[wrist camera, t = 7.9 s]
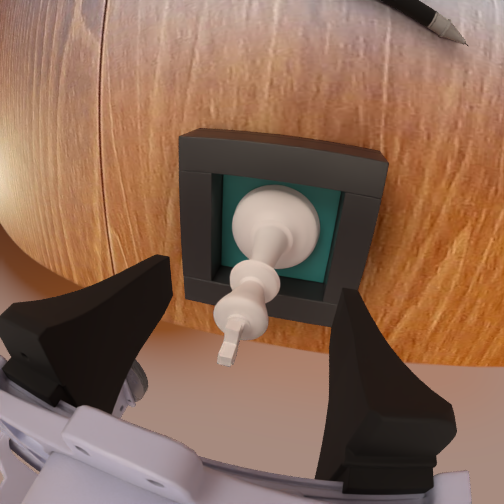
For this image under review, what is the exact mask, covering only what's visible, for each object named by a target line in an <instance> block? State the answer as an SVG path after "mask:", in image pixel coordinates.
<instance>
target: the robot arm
mask: <svg viewBox="0 0 504 504" xmlns="http://www.w3.org/2000/svg"><path fill="white" fill-rule="evenodd" d="M172 296H173V291H172V281H171V270H170V258H169V257H168V256H162V255H154V256H152V257H150V258H148V259H146V260H144V261H142V262H140V263H138V264H136V265H134V266H132V267H130V268H128V269H126V270H124V271H122V272H120V273H118V274H116V275H114V276H112V277H110V278H107V279H105V280H103V281H101V282H99V283H96V284H94V285H92V286H89V287H86V288H84V289H81V290H78V291H75V292H71V293H68V294H65V295H61V296H57V297H52V298H48V299H43V300H36V301H28V302H18V303H13V304H12V305H11V306H10V307H9V308H8V309H7V310H6V311H4V312H3V313H2V314H1V315H0V337H1V339H2V341H3V343H4V345H5V347H6V348H7V350H8V352H9V354H10V356H11V358H10V359H9V361H8V362H7V360H6V359H5V358H4V357H3V356H1V355H0V430H1V432H0V471H1V473H2V475H3V478H4V479H3V481H2V482H1V484H0V504H472V501H471V488H470V477H469V471H467V470H464V471H455V472H445V473H440V474H437V475H434V476H433V467H435V466H436V465H437V460H436V455H437V454H439V453H440V452H441V451H442V450H443V449H444V448H445V447H446V446H447V445H448V444H449V443H450V442H451V441H452V440H453V438H454V437H455V435H456V432H457V428H456V422H455V416H454V412H453V408H452V405H451V404H450V403H449V402H447V401H446V400H445V399H443V398H442V397H440V396H439V395H438V394H436V393H435V392H434V391H432V390H431V389H430V388H429V387H428V386H427V385H425V384H424V383H423V382H422V381H421V380H419V378H418V377H417V376H416V375H415V374H414V373H413V372H411V370H410V369H409V368H408V367H407V366H406V365H405V364H404V363H403V362H402V360H401V359H400V358H399V357H398V356H397V354H396V353H395V352H394V351H393V349H392V348H391V347H390V345H389V344H388V343H387V341H386V340H385V338H384V337H383V335H382V334H381V332H380V330H379V329H378V327H377V325H376V324H375V322H374V320H373V318H372V317H371V315H370V313H369V311H368V309H367V307H366V305H365V303H364V301H363V299H362V297H361V295H360V293H359V292H358V290H355V289H349V288H343V287H342V291H341V295H340V298H339V302H338V306H337V309H336V313H335V316H334V320H333V323H332V327H331V336H330V345H329V403H328V410H327V417H326V424H325V430H324V436H323V442H322V447H321V452H320V457H319V462H318V467H317V471H316V475H315V479H307V478H299V477H293V476H286V475H280V474H274V473H268V472H263V471H258V470H253V469H248V468H243V467H239V466H235V465H230V464H226V463H222V462H218V461H215V460H211V459H207V458H203V457H200V456H198V455H197V454H196V452H195V451H194V450H192V449H191V448H189V447H188V446H186V445H185V444H183V443H181V442H179V441H177V440H175V439H172V438H170V437H168V436H165V435H162V434H160V433H157V432H154V431H151V430H148V429H146V428H143V427H140V426H138V425H135V424H132V423H130V422H127V421H125V420H123V419H120V418H121V417H122V415H123V413H124V412H125V410H126V408H127V406H128V405H129V406H131V407H135V406H136V404H135V401H134V398H133V396H132V393H131V391H130V388H129V385H128V383H127V380H126V377H127V375H128V373H129V371H130V369H131V366H132V364H133V362H134V360H135V358H136V356H137V355H138V353H139V351H140V350H141V348H142V347H143V345H144V344H145V342H146V341H147V339H148V338H149V336H150V334H151V333H152V331H153V330H154V329H155V327H156V325H157V324H158V322H159V321H160V319H161V318H162V316H163V315H164V313H165V311H166V309H167V307H168V305H169V303H170V301H171V298H172ZM9 438H10V440H9ZM11 450H13V451H14V452H15V453H16V454H17V455H19V456H20V457H21V458H22V459H24V460H25V461H26V462H27V463H29V464H30V465H31V466H32V467H34V468H35V469H36V470H38V471H39V472H40V473H39V474H37V473H35V472H34V471H33V470H31V469H30V468H29V467H28V466H26V465H25V464H24V463H22V462H21V461H20V460H19V459H17V458H16V457H15V455H13V453H12V452H11Z"/></svg>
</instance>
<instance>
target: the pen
mask: <svg viewBox="0 0 504 504" xmlns="http://www.w3.org/2000/svg"><path fill="white" fill-rule="evenodd" d="M381 1H383V2H385V3H387V4H388V5H390V6H392V7H394V8H396V9H398V10H399V11H401V12H403V13H404V14H406V15H408V16H410V17H411V18H413V19H414V20H416V21H418V22H419V23H421V24H422V25H424V26H426V27H427V28H429V29H431V30H432V31H434V32H435V33H437V34H438V36H439V37H440V38H442V37H444V38H447V39H450V40H453V41H456V42H458V43H461V44H466V41H465V40H464V38H463V37H462V36H461V34H460V33H459V32H458V31H457V29H456V28H455V27H454V25H453V24H452V23H451V20H450V19H448V20H447V19H446V18H444V17H443V16H441V15H440V14H439V13H438V12H437V11H435V10H433V9H432V8H430V7H429V6H427V5H425V4H424V3H422V2H421V1H419V0H381ZM466 45H467V44H466ZM467 46H468V45H467Z"/></svg>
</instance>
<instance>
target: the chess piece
mask: <svg viewBox="0 0 504 504" xmlns="http://www.w3.org/2000/svg"><path fill="white" fill-rule="evenodd" d="M232 232H233V237H234V240H235V242H236V244H237V246H238V247H239V249H240V250H241V252H242V253H243V254H244V255H245V256H246V257H247V258H249V259H250V260H244V261H242V262H239V263H238V264H236V265H235V266H234V268H233V269H232V271H231V274H230V286H231V288H232V292H230V293H229V294H227V295H225V296H224V297H223V298H222V299H221V300H220V301H219V302H218V303H217V304H216V306H215V308H214V313H213V315H214V320H215V322H216V324H217V326H218V327H219V329H220V330H221V331H222V332H224V333H225V335H224V342H223V344H222V347H221V349H220V351H219V354H218V359H217V364H221V365H224V366H228V367H230V366H231V364H232V365H233V364H234V362H235V358H236V356H237V350H238V345H239V342H240V340H253V339H256V338H258V337H260V336H261V335H263V334H264V332H265V331H266V329H267V327H268V312H267V309H266V305H265V303H267V302H269V301H271V300H272V299H273V298H274V297H275V296H276V295H277V294H278V292H279V289H280V279H279V276H278V274H277V272H276V271H275V270H274V269H284V268H289V267H293V266H295V265H298V264H299V263H301V262H303V261H304V260H305V259H306V258H307V257H308V256H309V255H310V254H311V253H312V251H313V250H314V248H315V246H316V243H317V241H318V238H319V234H320V221H319V217H318V214H317V212H316V210H315V208H314V206H313V205H312V203H311V202H310V201H309V200H308V199H307V198H306V197H305V196H304V195H303V194H301V193H300V192H298V191H296V190H294V189H292V188H290V187H286V186H282V185H265V186H261V187H258V188H256V189H254V190H252V191H250V192H249V193H247V194H246V195H245V196H244V197H243V198H242V199H241V200H240V202H239V203H238V205H237V207H236V210H235V213H234V216H233V220H232Z"/></svg>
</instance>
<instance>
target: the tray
mask: <svg viewBox="0 0 504 504" xmlns="http://www.w3.org/2000/svg"><path fill="white" fill-rule="evenodd" d="M388 165H389V163H388V161H387V160H386V159H385V157H384V156H383V155H382V153H381V152H380V151H377V150H372V149H367V148H362V147H357V146H351V145H345V144H340V143H334V142H327V141H321V140H314V139H307V138H300V137H293V136H285V135H276V134H267V133H257V132H247V131H235V130H221V129H205V128H199V129H196V130H194V131H191V132H189V133H186V134H184V135H181V136H179V197H180V225H181V246H182V263H183V276H184V289H185V299H188V300H192V301H197V302H201V303H206V304H211V305H215V306H216V304H217V303H218V302H219V301H220V300H221V299H222V298H223V297H224V296H225V295H227V294H229V293H230V292H232V288H231V286H230V274H231V271H232V269H233V268H234V266H235V265H236V264H238V263H239V262H242V261H244V260H250V259H249V258H247V257H246V256H245V255H244V254H243V253H242V252H241V250H240V249H239V247H238V246H237V244H236V242H235V240H234V237H233V232H232V220H233V216H234V213H235V210H236V207H237V205H238V203H239V202H240V200H241V199H242V198H243V197H244V196H245V195H246V194H247V193H249V192H250V191H252V190H254V189H256V188H258V187H261V186H265V185H282V186H286V187H290V188H292V189H294V190H296V191H298V192H300V193H301V194H303V195H304V196H305V197H306V198H307V199H308V200H309V201H310V202H311V203H312V205H313V206H314V208H315V210H316V212H317V214H318V217H319V221H320V234H319V238H318V241H317V243H316V246H315V248H314V250H313V251H312V253H311V254H310V255H309V256H308V257H307V258H306V259H305V260H304V261H303V262H301V263H299V264H298V265H295V266H293V267H289V268H284V269H274V270H275V271H276V272H277V274H278V276H279V279H280V289H279V292H278V294H277V295H276V296H275V297H274V298H273V299H272V300H271V301H269V302H267V303H265V305H266V309H267V312H268V316H270V317H275V318H281V319H286V320H292V321H298V322H303V323H309V324H315V325H321V326H327V327H332V323H333V320H334V316H335V313H336V309H337V306H338V302H339V298H340V295H341V291H342V287H343V288H349V289H355V290H358V288H359V285H360V282H361V278H362V275H363V271H364V268H365V264H366V260H367V257H368V253H369V249H370V245H371V241H372V238H373V234H374V230H375V225H376V221H377V217H378V213H379V209H380V204H381V198H382V195H383V190H384V186H385V181H386V176H387V171H388Z"/></svg>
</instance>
